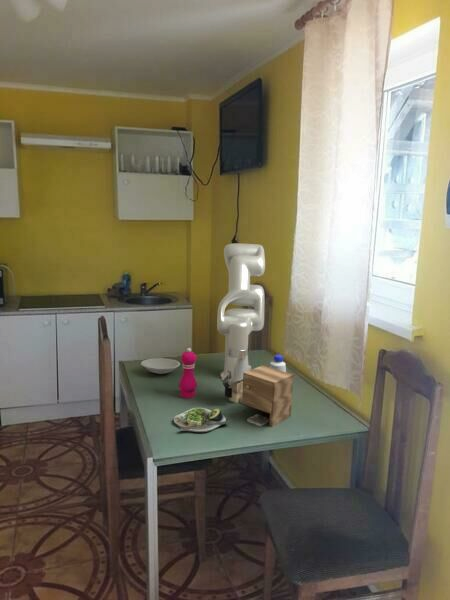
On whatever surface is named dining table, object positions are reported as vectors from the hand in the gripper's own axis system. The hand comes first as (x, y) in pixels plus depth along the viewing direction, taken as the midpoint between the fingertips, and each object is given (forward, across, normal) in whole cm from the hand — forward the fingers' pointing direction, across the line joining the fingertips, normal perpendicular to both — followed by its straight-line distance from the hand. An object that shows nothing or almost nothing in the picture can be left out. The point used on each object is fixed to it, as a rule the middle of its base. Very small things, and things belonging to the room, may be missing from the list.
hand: (236, 393), depth 199 cm
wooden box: (+3, +3, +17) cm, 17 cm away
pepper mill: (+3, +10, -17) cm, 20 cm away
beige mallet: (+3, 0, +9) cm, 10 cm away
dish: (+3, 0, -44) cm, 44 cm away
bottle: (+3, -9, +13) cm, 16 cm away
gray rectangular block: (+4, +9, +18) cm, 20 cm away
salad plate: (+4, +24, +3) cm, 24 cm away
